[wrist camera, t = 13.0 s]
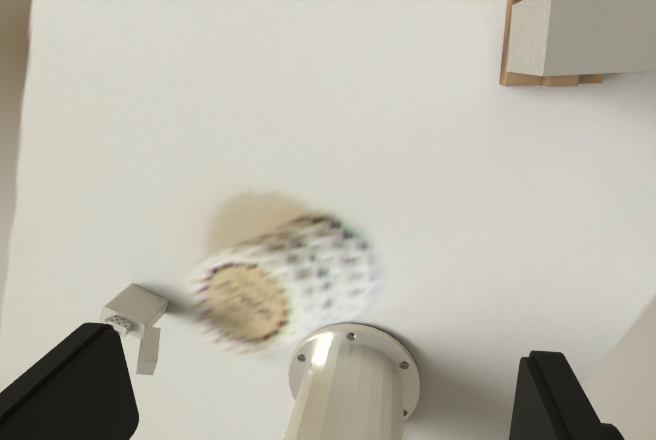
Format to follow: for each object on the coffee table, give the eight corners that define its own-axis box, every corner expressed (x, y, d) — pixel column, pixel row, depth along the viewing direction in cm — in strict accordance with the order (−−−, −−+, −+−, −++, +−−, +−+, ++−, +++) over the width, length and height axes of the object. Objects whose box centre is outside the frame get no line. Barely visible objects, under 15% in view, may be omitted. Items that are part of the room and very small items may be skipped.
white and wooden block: (604, 66, 28) (677, 69, 21) (506, 71, 29) (542, 76, 22) (617, -16, 26) (701, -44, 19) (513, -7, 27) (554, -31, 20)
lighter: (127, 296, 43) (70, 345, 36) (130, 283, 43) (73, 330, 35) (191, 326, 43) (148, 381, 36) (196, 312, 43) (153, 366, 35)
